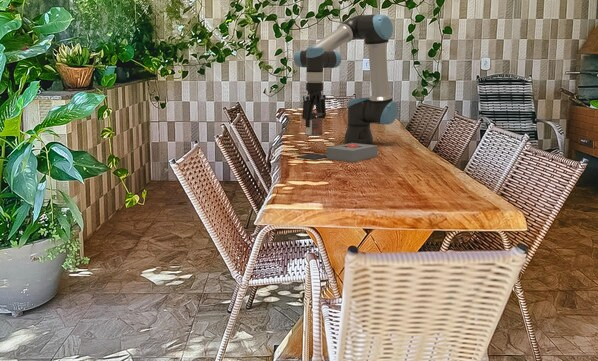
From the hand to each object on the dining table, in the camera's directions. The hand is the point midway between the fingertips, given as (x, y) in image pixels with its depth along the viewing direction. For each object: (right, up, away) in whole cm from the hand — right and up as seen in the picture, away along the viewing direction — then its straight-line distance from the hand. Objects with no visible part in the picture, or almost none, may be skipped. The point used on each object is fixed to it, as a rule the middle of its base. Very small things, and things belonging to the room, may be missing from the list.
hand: (314, 133), depth 313 cm
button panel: (+17, -11, +1) cm, 20 cm away
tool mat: (0, -10, +2) cm, 11 cm away
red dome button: (+17, -10, +1) cm, 20 cm away
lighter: (0, -1, 0) cm, 1 cm away
